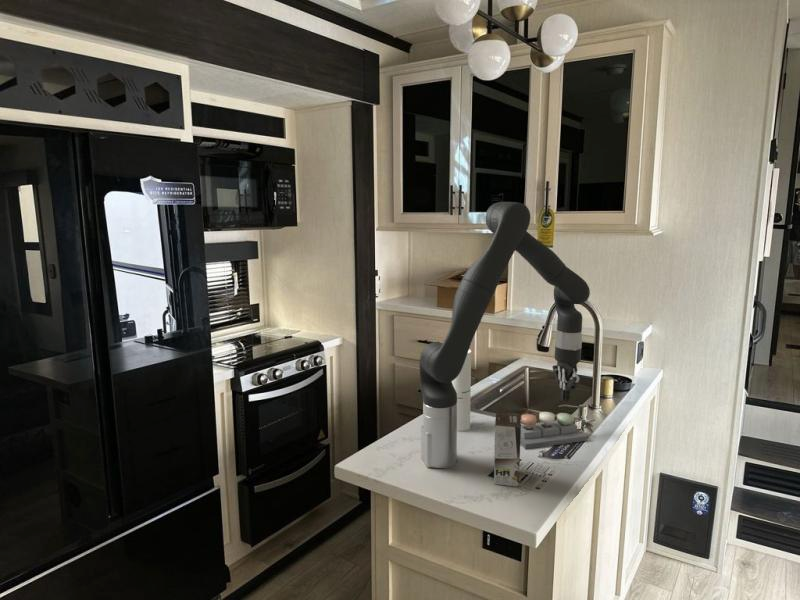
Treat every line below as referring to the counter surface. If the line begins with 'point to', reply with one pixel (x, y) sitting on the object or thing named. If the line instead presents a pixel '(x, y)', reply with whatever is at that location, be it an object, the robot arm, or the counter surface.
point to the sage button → (564, 418)
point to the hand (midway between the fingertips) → (564, 400)
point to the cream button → (546, 418)
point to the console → (550, 435)
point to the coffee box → (507, 449)
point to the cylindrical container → (463, 394)
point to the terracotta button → (528, 420)
